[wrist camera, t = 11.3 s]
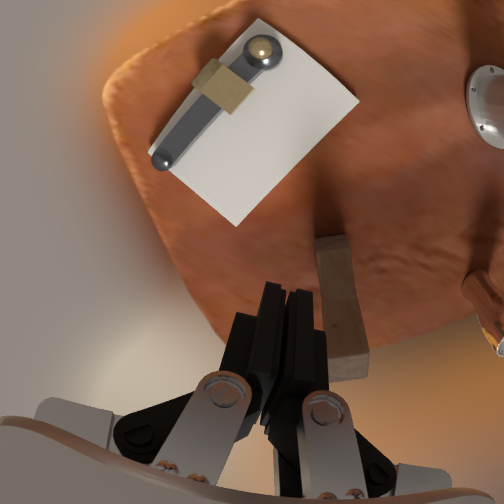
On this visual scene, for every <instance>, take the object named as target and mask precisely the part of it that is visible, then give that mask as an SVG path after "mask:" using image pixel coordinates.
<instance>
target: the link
mask: <svg viewBox="0 0 504 504" xmlns="http://www.w3.org/2000/svg"><path fill="white" fill-rule="evenodd" d="M258 37H262V38H266V39H267V40H269V41H270V43H271V45H272V48H273V54H272V56H271V57H270V58H269V59H267V60H257V59H256V58H254V57H253V56H252V54H251V53H250V52H249V49H248V46H249V43H250V42H251V41H252V40H253V39H255V38H258ZM282 59H283V50H282V46H281V44H280V43H279V41H278V40H277V39H275V38H274V37H272V36H270V35H264V34H261V35H256V36H253V37H252V38H250V39H249V40H248V41H247V42H246V43H245V45H244V47H243V53H242V54H241V55H240V56H239V57H238V58H237V59H236V60H235V61H234V62H233V63H232V64H231V65H230V66H229V67H228V68H229V69H230V70H231V71H233V72H234V73H236V74H237V75H238V76H239V77H241V78H242V79H243V80H245V81H246V82H247V83H249V84H251V83H252V82H253V81H254V80H255V79H256V78H257V77H258V76H259V75H260V74H262V73H263V72H264V71H270V70H273V69H275V68H276V67H278V66H279V65H280V63H281V61H282ZM223 111H224V110H223V109H222V108H221V107H219V106H218V105H217V104H216V103H214V102H213V101H212V100H210V99H209V98H208V97H207V96H205V95H204V94H202V95H201V96H200V97H199V98H198V99H197V100H196V101H195V103H194V104H193V105H192V106H191V107H190V108H189V109H188V111H187V112H186V113H185V114H184V115H183V116H182V118H181V119H180V120H179V121H178V122H177V124H176V125H175V126H174V127H173V128H172V130H171V131H170V132H169V133H168V135H167V136H166V137H165V138H164V140H163V141H162V142H161V143H160V145H159V146H158V147H157V149H156V150H155V151H154V153H153V154H152V158H151V161H152V165H153V166H154V168H155V169H157V170H159V171H166V170H168V169H170V168H172V167H174V166H175V165H176V164H177V163H178V162H179V160H180V159H181V158H182V157H183V156H184V154H185V153H186V152H187V151H188V150H189V149H190V147H191V146H192V145H193V144H194V143H195V142H196V141H197V139H198V138H199V137H200V136H201V135H202V134H203V133H204V132H205V130H206V129H207V128H208V127H209V126H210V125H211V124H212V123H213V122H214V121H215V120H216V119H217V117H218V116H219V115H220V114H221V113H222V112H223Z"/></svg>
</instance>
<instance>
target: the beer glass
mask: <svg viewBox="0 0 504 504" xmlns="http://www.w3.org/2000/svg"><path fill="white" fill-rule="evenodd" d="M462 294H463V296H464V297H465V298H466V299H467V300H468V301H470V303H471V304H472V305H473V307H474V309H475V311H476V314H477V317H478V320H479V322H480V325H481V328H482V330H483V332H484V334H485V336H486V338H487V339H488V341H489V343H490V344H491V346H492V347H493V349H494V350H495V351H496V353H497V355H498V356H499V357H504V292H503V291H501V290H500V289H499V288H498V287H496V286H495V285H494V284H493V282H492V281H491V279H490V277H489V275H488V273H487V272H486V271H485V270H484V269H476V270H474V271H472V272H471V273H470V274H469V275H468V276H467V277H466V278H465V280H464V282H463V284H462Z"/></svg>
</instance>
